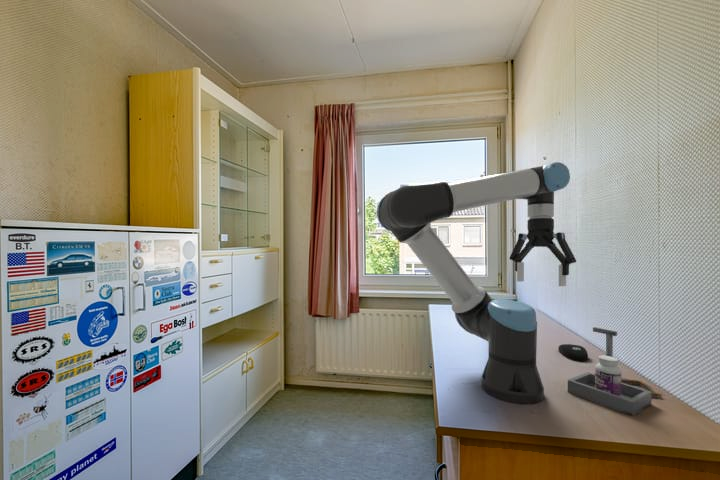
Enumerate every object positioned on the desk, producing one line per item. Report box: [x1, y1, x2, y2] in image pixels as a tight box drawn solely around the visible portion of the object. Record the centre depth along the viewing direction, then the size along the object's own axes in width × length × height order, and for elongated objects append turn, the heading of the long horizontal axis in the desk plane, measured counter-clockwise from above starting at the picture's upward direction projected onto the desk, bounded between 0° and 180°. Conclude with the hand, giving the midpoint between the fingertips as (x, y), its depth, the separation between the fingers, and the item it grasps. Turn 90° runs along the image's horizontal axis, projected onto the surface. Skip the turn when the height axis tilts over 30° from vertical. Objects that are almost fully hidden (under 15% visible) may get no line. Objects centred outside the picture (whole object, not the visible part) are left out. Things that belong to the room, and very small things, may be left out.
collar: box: [621, 378, 663, 399], centre depth 88 cm, size 9×9×1 cm
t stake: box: [592, 326, 618, 357], centre depth 99 cm, size 4×6×13 cm
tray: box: [567, 371, 652, 417], centre depth 82 cm, size 11×14×3 cm
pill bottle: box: [594, 354, 622, 397], centre depth 83 cm, size 5×5×10 cm
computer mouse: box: [558, 343, 589, 363], centre depth 114 cm, size 8×12×4 cm, turn 166°
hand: (540, 283), depth 104 cm, fingers open, 13 cm apart
